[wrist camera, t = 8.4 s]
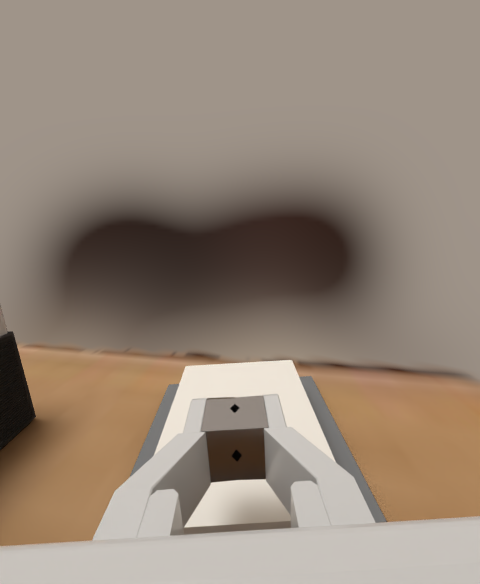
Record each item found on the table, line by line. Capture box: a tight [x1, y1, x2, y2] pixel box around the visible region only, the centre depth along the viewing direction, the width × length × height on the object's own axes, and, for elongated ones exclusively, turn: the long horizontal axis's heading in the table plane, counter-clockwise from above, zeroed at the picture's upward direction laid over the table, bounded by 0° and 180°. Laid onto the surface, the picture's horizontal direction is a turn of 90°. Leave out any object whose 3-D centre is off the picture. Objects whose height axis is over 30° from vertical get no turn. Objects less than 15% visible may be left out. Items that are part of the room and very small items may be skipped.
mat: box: [129, 376, 387, 523], centre depth 13 cm, size 12×18×1 cm, turn 1°
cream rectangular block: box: [154, 360, 336, 535], centre depth 15 cm, size 8×2×11 cm
